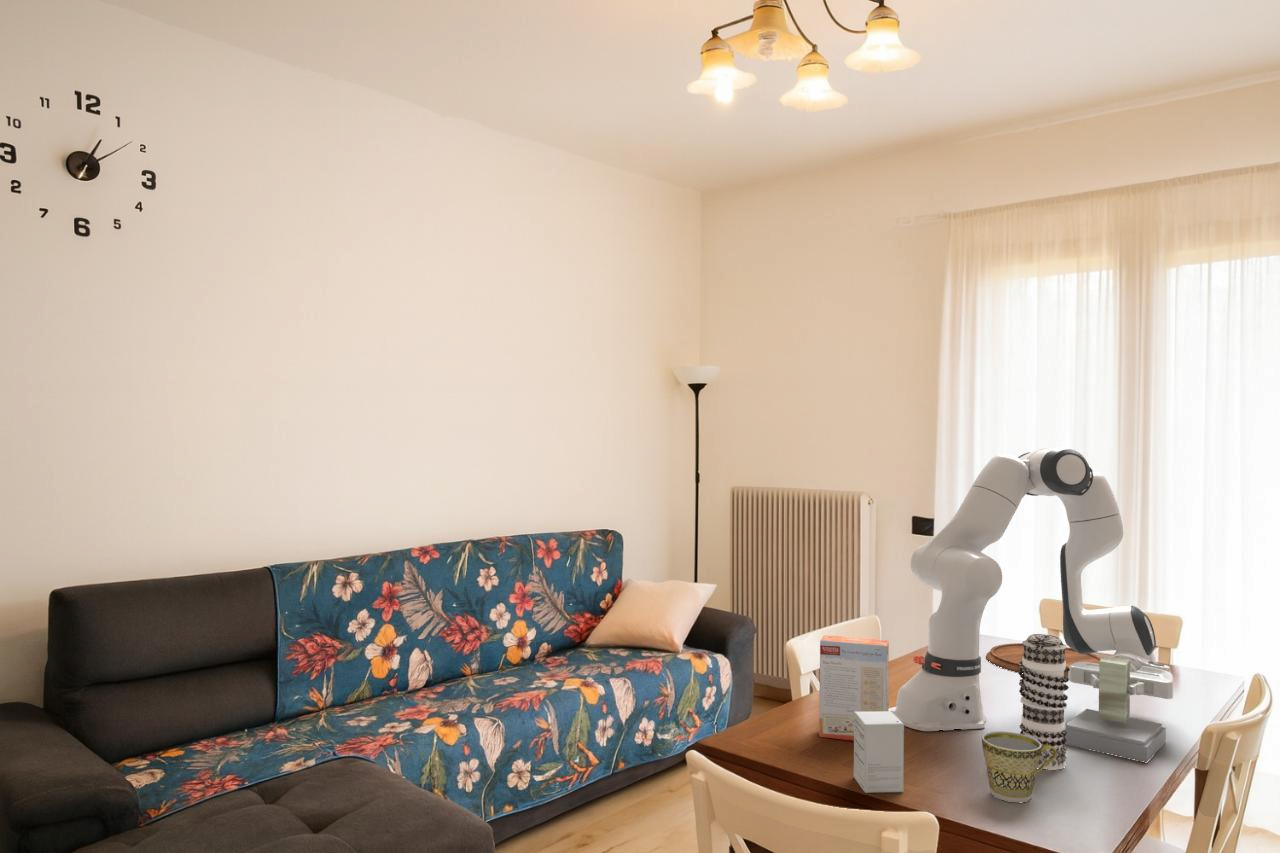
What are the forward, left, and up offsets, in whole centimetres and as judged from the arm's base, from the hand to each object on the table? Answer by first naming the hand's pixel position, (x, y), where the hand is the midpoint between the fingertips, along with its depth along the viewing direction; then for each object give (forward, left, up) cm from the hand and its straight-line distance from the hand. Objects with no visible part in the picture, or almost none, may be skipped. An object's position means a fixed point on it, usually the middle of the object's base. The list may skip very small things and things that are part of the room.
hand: (1113, 687), depth 188 cm
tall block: (+1, 0, -6) cm, 7 cm away
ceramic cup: (-39, -14, -12) cm, 43 cm away
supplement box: (-60, -1, -12) cm, 61 cm away
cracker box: (-49, +22, -12) cm, 56 cm away
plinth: (+1, 0, -12) cm, 12 cm away
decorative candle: (-22, -3, -12) cm, 25 cm away
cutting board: (+39, +54, -13) cm, 68 cm away
